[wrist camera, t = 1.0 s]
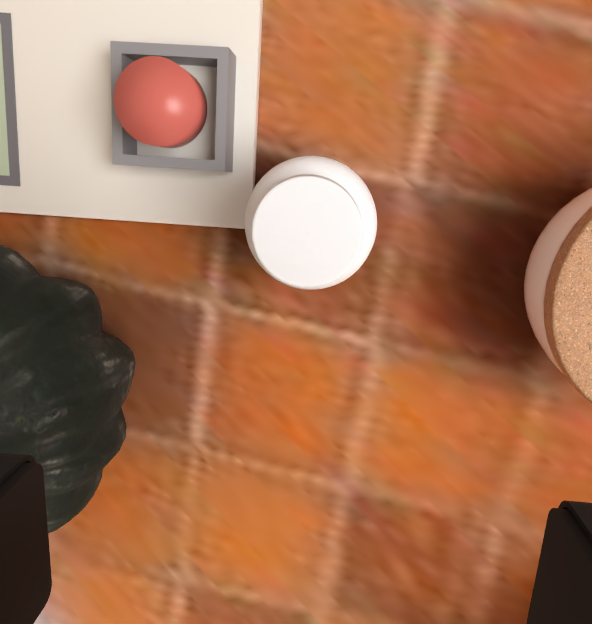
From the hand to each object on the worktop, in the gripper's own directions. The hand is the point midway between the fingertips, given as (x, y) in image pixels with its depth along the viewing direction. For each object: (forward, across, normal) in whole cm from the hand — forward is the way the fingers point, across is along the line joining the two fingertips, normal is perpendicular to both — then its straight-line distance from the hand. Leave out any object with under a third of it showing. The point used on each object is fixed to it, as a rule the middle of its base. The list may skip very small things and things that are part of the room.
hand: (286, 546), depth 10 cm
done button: (+18, +7, -9) cm, 21 cm away
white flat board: (+21, +14, -9) cm, 27 cm away
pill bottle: (+21, 0, -4) cm, 21 cm away
